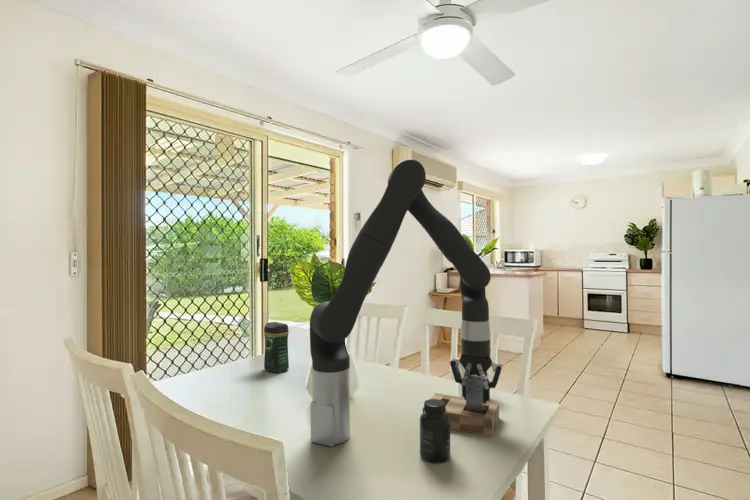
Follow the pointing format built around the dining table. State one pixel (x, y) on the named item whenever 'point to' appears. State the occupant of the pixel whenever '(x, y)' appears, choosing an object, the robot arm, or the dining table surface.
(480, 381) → the steel square peg
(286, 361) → the coffee jar
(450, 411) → the socket board
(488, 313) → the robot arm
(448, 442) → the supplement bottle
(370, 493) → the dining table surface
